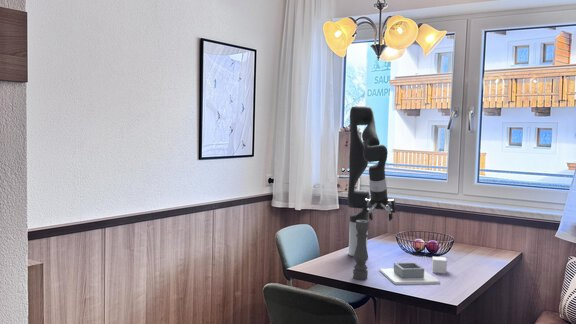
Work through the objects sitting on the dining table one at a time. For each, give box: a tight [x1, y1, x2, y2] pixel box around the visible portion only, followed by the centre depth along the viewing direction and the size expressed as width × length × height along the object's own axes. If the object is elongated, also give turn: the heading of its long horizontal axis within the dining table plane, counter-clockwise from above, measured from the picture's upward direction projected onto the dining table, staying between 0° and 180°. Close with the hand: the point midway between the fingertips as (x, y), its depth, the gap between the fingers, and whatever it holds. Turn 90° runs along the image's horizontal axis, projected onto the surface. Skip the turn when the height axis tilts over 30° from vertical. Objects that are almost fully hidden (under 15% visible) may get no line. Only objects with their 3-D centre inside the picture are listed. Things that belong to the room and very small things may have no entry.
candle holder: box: [352, 220, 370, 281], centre depth 225 cm, size 6×6×25 cm
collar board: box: [378, 262, 441, 286], centre depth 229 cm, size 20×20×5 cm
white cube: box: [431, 256, 448, 274], centre depth 240 cm, size 6×6×6 cm
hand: (380, 219), depth 241 cm, fingers open, 8 cm apart
